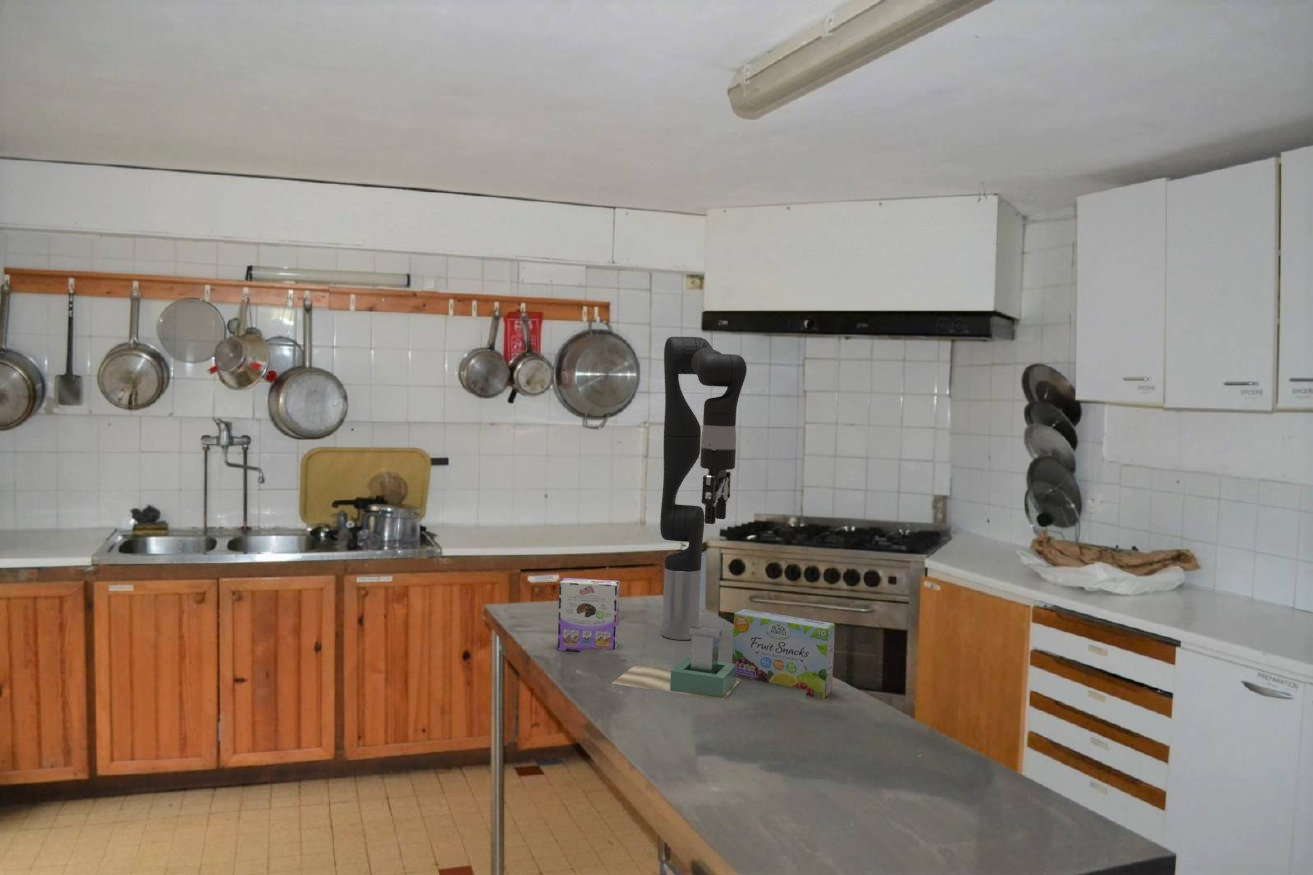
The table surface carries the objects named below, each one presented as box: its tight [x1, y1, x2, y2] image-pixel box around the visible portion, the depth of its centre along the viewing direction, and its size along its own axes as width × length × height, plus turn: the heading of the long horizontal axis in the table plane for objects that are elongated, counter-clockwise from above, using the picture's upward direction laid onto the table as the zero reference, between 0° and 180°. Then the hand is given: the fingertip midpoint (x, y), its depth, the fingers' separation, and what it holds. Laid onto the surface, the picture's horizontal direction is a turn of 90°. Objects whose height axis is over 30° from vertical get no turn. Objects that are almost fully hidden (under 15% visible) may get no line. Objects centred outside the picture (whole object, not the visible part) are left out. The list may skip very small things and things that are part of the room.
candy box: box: [557, 577, 620, 653], centre depth 228 cm, size 14×6×16 cm, turn 84°
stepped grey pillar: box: [689, 626, 723, 674], centre depth 199 cm, size 4×6×12 cm
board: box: [611, 664, 743, 701], centre depth 202 cm, size 15×24×1 cm, turn 71°
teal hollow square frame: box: [670, 656, 737, 698], centre depth 199 cm, size 11×11×4 cm
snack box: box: [731, 608, 836, 700], centre depth 205 cm, size 21×6×15 cm, turn 62°
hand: (715, 521), depth 208 cm, fingers open, 8 cm apart
